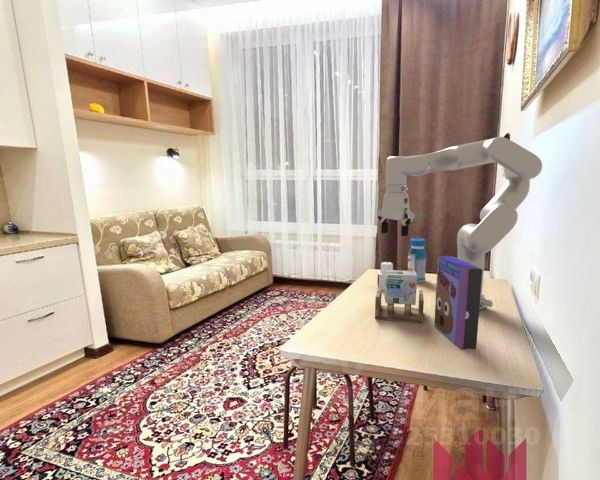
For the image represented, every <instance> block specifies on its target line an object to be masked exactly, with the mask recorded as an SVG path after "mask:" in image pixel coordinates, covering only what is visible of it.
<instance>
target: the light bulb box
mask: <svg viewBox="0 0 600 480" xmlns="http://www.w3.org/2000/svg"><path fill="white" fill-rule="evenodd" d="M417 284H418V282H417V274H416V272H415V271H408V270H399V269H398V270H395V269H394V270H386V279H385V290H384V301H385V304H387V303H389V304H394V305H405V304H407V305H411V306H416V302H417V300H416V299H417V289H418V288H417V286H418V285H417Z"/></svg>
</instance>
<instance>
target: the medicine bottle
mask: <svg viewBox="0 0 600 480" xmlns="http://www.w3.org/2000/svg"><path fill="white" fill-rule="evenodd" d="M394 266H395V265H394V262H393V261H389V260H383V261H380V262H379V270H378V271H377V288H378V287H381V288H382V290H381V291H385V279H386V270H395V269H394V268H395V267H394Z"/></svg>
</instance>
